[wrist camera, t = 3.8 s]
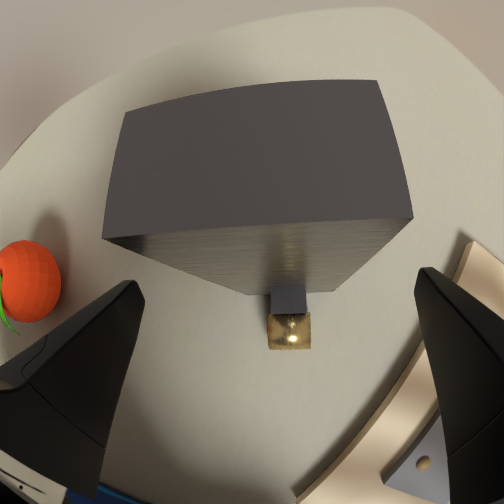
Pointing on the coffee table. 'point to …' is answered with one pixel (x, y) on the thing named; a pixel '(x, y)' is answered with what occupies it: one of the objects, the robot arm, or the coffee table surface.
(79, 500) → the book
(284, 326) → the grey block
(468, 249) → the board
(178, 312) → the coffee table surface
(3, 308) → the clementine
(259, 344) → the coffee table surface
